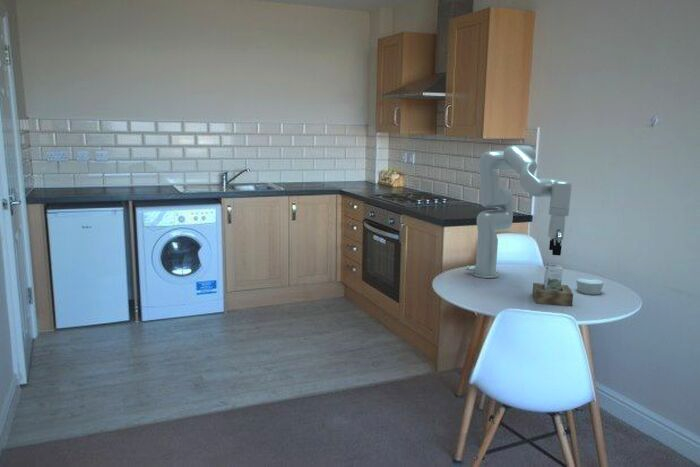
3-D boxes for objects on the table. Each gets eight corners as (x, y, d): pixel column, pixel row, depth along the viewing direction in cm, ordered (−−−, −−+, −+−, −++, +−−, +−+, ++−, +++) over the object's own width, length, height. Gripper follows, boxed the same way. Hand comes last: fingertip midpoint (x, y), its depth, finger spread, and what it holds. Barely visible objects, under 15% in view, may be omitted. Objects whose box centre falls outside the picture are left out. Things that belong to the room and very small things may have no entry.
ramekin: (595, 289, 263) (596, 277, 262) (607, 295, 252) (608, 284, 251) (571, 288, 263) (572, 277, 262) (581, 295, 252) (582, 283, 251)
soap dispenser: (556, 298, 246) (559, 264, 244) (559, 302, 241) (562, 267, 238) (542, 297, 247) (545, 263, 244) (545, 301, 241) (548, 267, 239)
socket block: (535, 303, 238) (536, 291, 237) (532, 294, 252) (533, 282, 251) (572, 305, 235) (573, 293, 235) (566, 296, 249) (567, 285, 248)
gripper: (546, 207, 246) (542, 247, 250) (552, 214, 230) (547, 256, 233) (565, 208, 245) (561, 248, 248) (572, 215, 228) (567, 257, 232)
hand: (554, 252), depth 241 cm, fingers open, 9 cm apart
